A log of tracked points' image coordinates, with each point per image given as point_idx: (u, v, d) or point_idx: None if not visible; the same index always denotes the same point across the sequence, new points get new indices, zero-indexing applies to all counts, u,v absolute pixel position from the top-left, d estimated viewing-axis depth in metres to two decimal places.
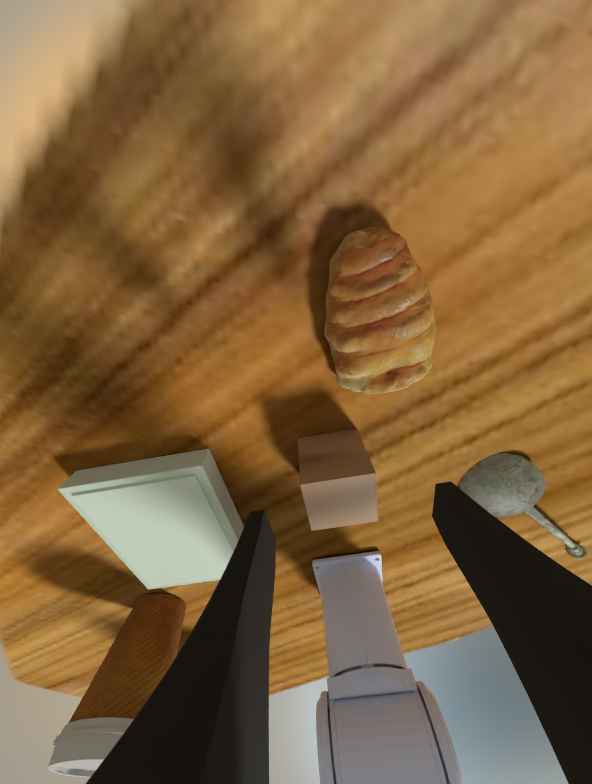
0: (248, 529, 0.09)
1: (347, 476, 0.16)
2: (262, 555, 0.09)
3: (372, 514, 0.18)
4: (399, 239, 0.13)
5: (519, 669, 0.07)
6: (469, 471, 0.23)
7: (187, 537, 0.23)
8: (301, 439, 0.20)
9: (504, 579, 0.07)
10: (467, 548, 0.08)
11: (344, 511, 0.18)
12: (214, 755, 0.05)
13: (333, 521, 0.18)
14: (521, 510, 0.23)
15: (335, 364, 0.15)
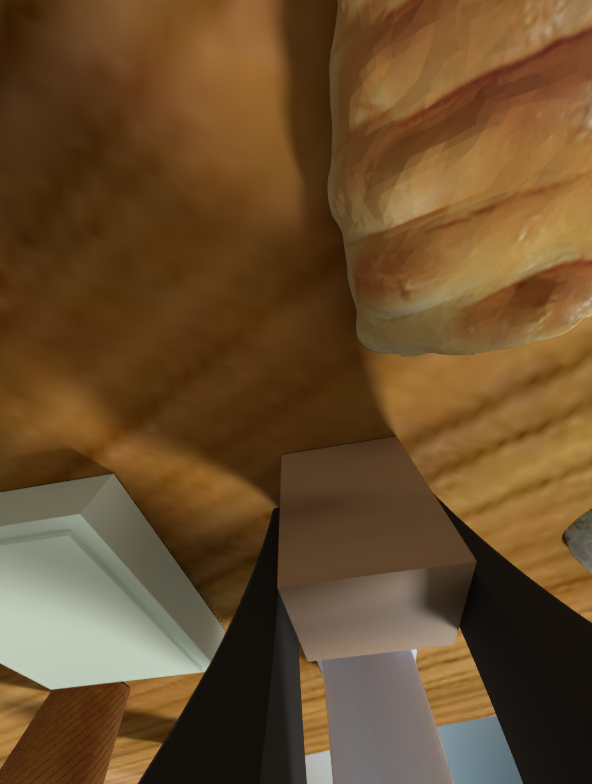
0: (274, 525, 0.09)
1: (401, 566, 0.06)
2: None
3: (446, 634, 0.08)
4: None
5: (482, 674, 0.07)
6: (591, 512, 0.13)
7: (89, 629, 0.13)
8: (289, 459, 0.10)
9: None
10: None
11: (383, 631, 0.08)
12: (268, 750, 0.04)
13: (355, 646, 0.08)
14: None
15: (359, 277, 0.06)
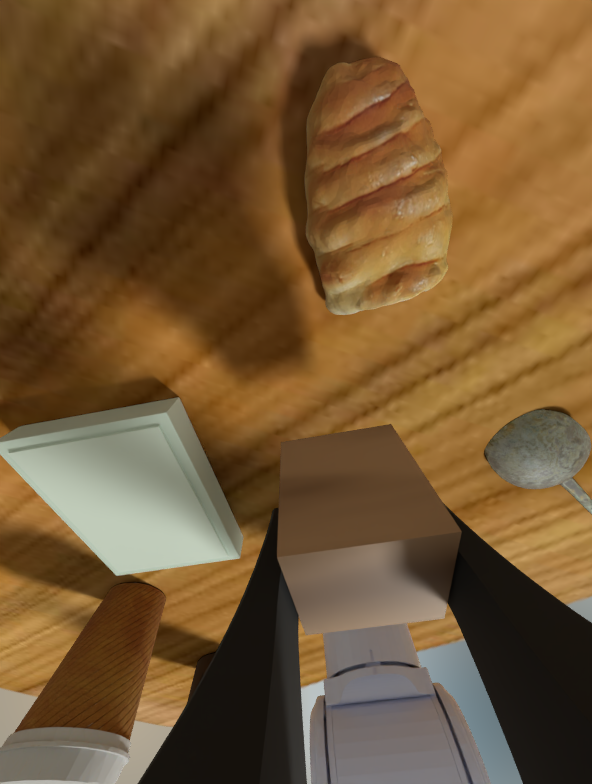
0: (274, 525, 0.09)
1: (392, 537, 0.07)
2: None
3: (436, 608, 0.08)
4: (398, 69, 0.09)
5: (482, 674, 0.07)
6: (499, 433, 0.19)
7: (156, 509, 0.19)
8: (288, 445, 0.11)
9: (467, 584, 0.07)
10: None
11: (377, 604, 0.08)
12: (268, 750, 0.04)
13: (351, 620, 0.09)
14: (561, 479, 0.19)
15: (321, 273, 0.12)
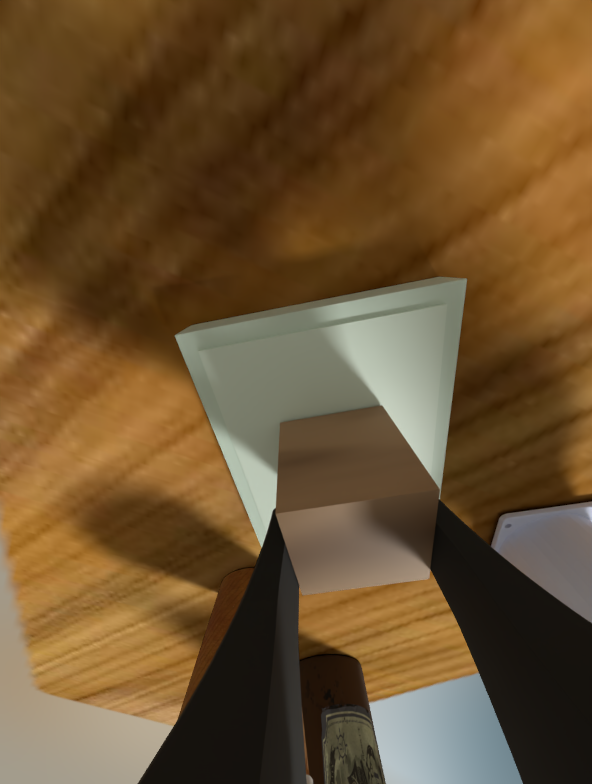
0: (274, 525, 0.09)
1: (378, 495, 0.08)
2: None
3: (421, 567, 0.09)
4: None
5: (482, 674, 0.07)
6: None
7: None
8: (286, 425, 0.12)
9: (467, 584, 0.07)
10: (436, 552, 0.09)
11: (366, 563, 0.09)
12: (268, 750, 0.04)
13: (344, 579, 0.09)
14: None
15: None
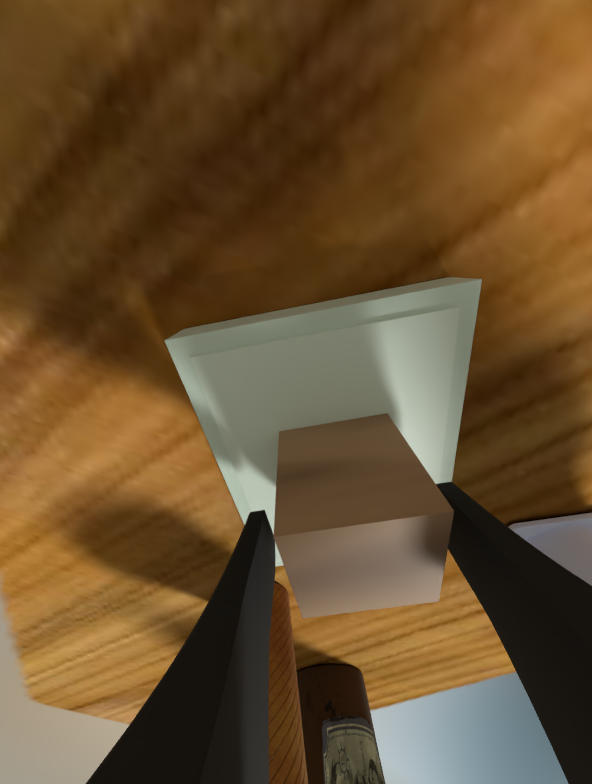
0: (248, 529, 0.09)
1: (386, 517, 0.07)
2: (262, 555, 0.09)
3: (431, 590, 0.09)
4: None
5: (519, 670, 0.07)
6: None
7: None
8: (286, 434, 0.11)
9: (504, 579, 0.07)
10: (466, 548, 0.09)
11: (372, 586, 0.08)
12: (214, 755, 0.05)
13: (347, 602, 0.09)
14: None
15: None
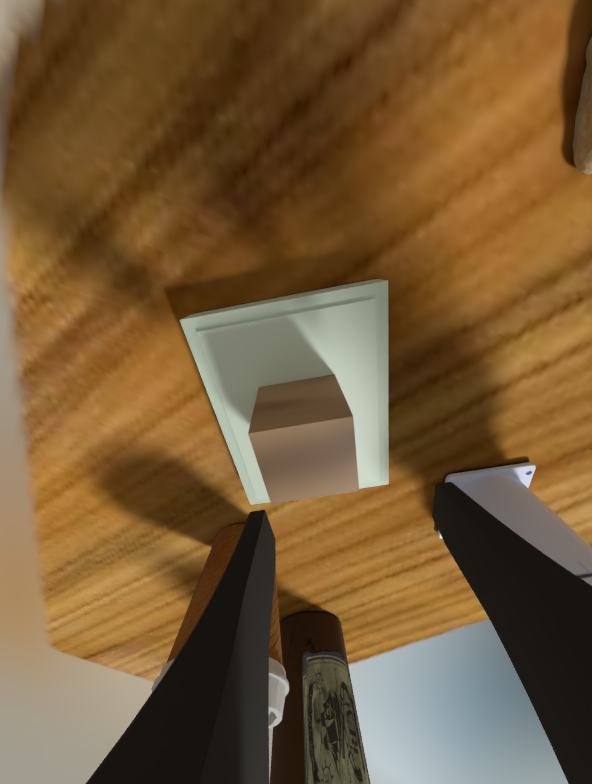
0: (248, 529, 0.09)
1: (314, 421, 0.12)
2: (262, 555, 0.09)
3: (352, 481, 0.13)
4: None
5: (519, 670, 0.07)
6: None
7: None
8: (263, 388, 0.16)
9: (504, 579, 0.07)
10: (467, 548, 0.09)
11: (313, 475, 0.13)
12: (214, 755, 0.05)
13: (299, 490, 0.13)
14: None
15: None
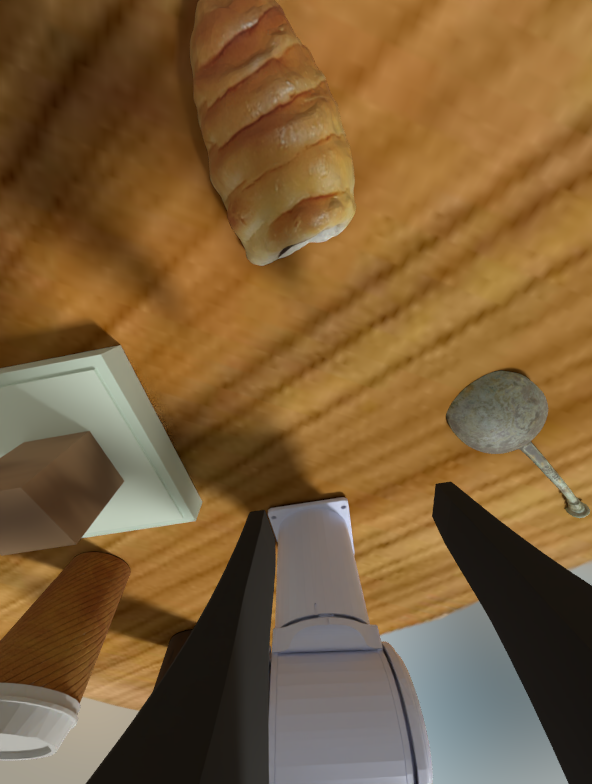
0: (248, 529, 0.09)
1: None
2: (262, 555, 0.09)
3: (63, 536, 0.15)
4: None
5: (519, 670, 0.07)
6: (459, 394, 0.19)
7: None
8: (23, 444, 0.17)
9: (504, 579, 0.07)
10: (467, 549, 0.08)
11: (23, 533, 0.14)
12: (214, 755, 0.05)
13: (19, 544, 0.15)
14: (518, 441, 0.19)
15: (228, 218, 0.12)
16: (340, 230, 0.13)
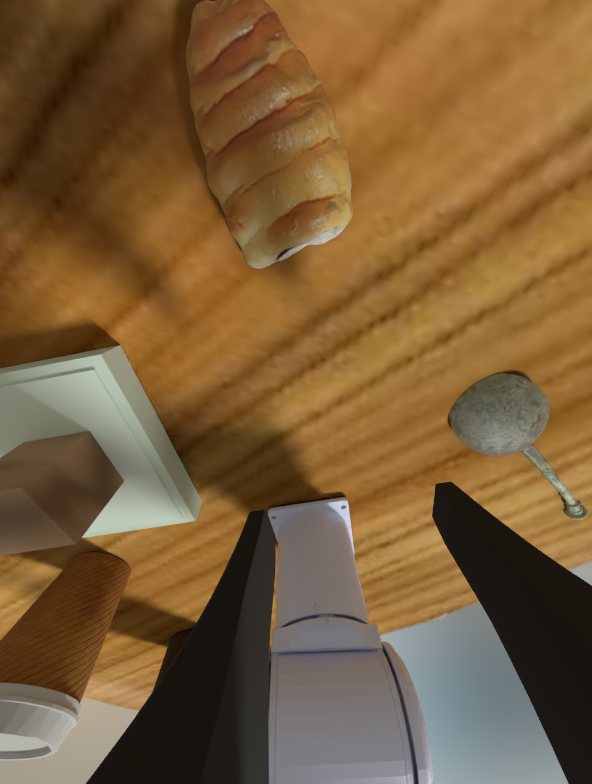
0: (248, 529, 0.09)
1: None
2: (262, 555, 0.09)
3: (63, 536, 0.15)
4: (260, 1, 0.09)
5: (519, 670, 0.07)
6: (462, 396, 0.20)
7: None
8: (23, 444, 0.17)
9: (504, 579, 0.07)
10: (467, 549, 0.08)
11: (23, 533, 0.14)
12: (214, 755, 0.05)
13: (19, 544, 0.15)
14: (520, 444, 0.19)
15: (226, 222, 0.12)
16: (338, 232, 0.13)
